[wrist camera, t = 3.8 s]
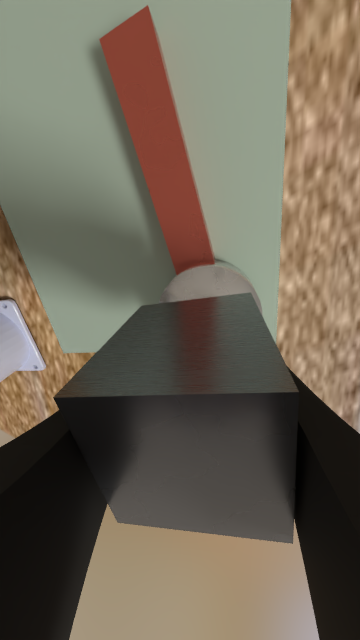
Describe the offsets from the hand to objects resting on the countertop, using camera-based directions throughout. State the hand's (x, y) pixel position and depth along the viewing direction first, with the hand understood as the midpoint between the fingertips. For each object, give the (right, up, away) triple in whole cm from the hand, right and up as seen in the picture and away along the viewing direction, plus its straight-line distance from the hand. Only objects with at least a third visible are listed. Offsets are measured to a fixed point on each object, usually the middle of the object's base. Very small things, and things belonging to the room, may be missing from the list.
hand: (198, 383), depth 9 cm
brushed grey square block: (0, +1, +2) cm, 2 cm away
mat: (-4, +11, +6) cm, 13 cm away
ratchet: (0, +9, +6) cm, 11 cm away
